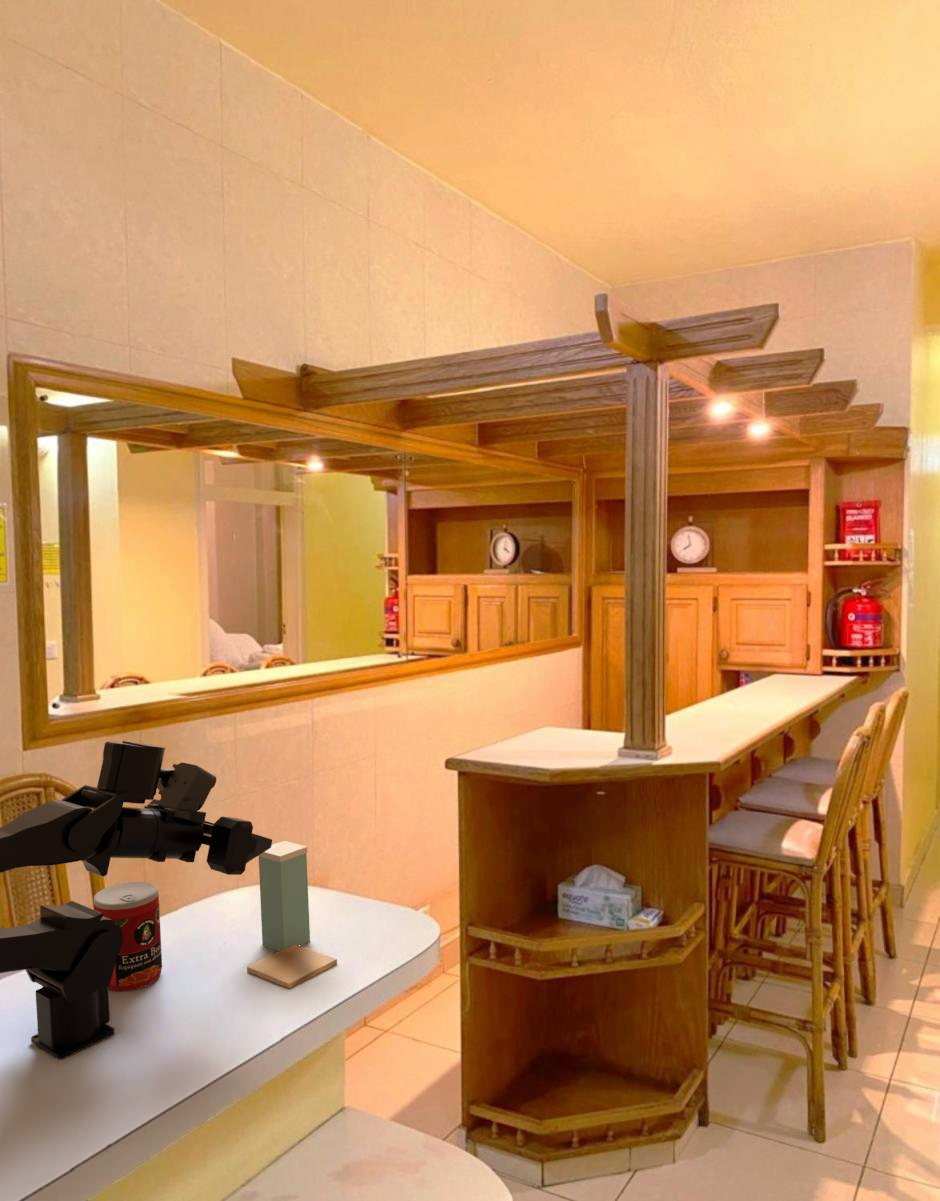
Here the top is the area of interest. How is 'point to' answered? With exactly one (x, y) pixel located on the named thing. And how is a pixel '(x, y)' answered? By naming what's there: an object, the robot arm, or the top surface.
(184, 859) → the robot arm
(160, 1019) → the top surface
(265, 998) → the top surface
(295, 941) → the tea tin
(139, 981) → the canned food
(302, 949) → the coaster
